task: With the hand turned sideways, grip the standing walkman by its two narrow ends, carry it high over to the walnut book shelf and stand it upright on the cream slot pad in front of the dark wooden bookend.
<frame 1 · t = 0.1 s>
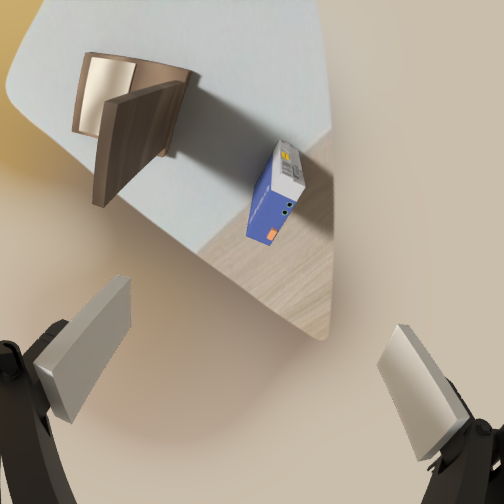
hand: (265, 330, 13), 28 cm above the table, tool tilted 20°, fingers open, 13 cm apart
walkman: (275, 167, 37), on the table
book shelf: (110, 96, 31), on the table
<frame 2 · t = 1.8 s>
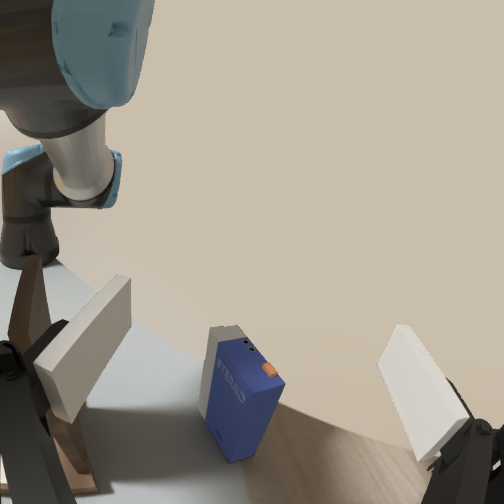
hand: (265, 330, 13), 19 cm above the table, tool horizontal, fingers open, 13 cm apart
walkman: (223, 433, 25), on the table
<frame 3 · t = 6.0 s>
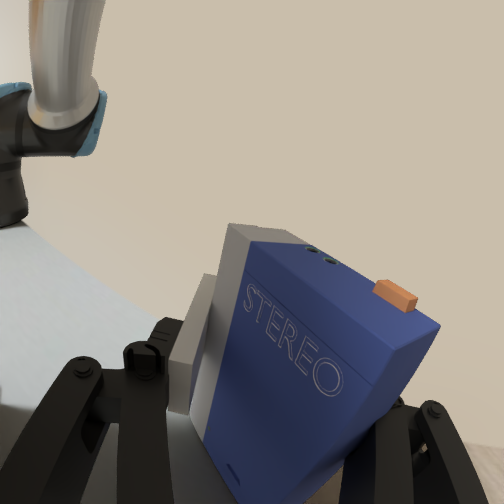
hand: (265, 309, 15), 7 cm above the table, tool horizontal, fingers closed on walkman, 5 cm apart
walkman: (238, 465, 12), on the table, touching gripper
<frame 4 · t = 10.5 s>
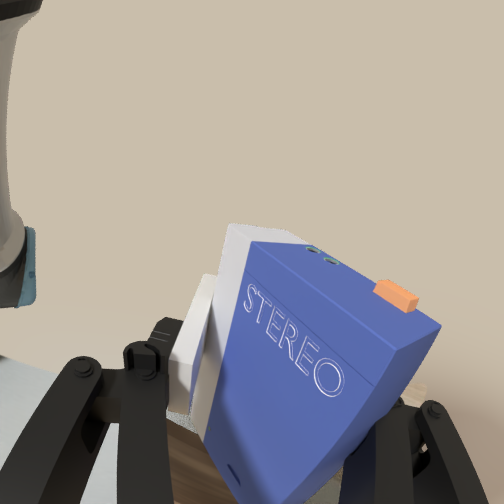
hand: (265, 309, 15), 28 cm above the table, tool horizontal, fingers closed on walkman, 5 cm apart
walkman: (239, 465, 12), point 21 cm above the table, touching gripper
when the fingers open (10 cm above the table, at t = 15.1 s): walkman drops 1 cm, resting on book shelf.
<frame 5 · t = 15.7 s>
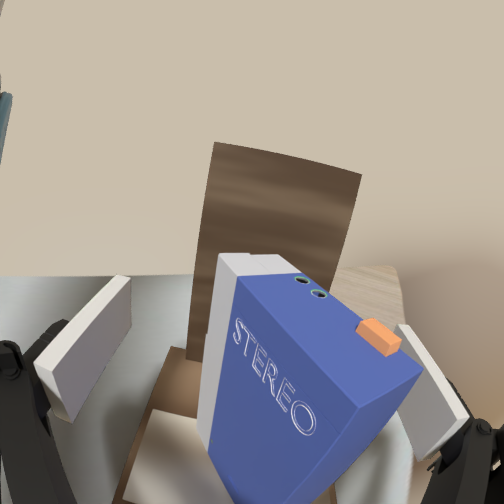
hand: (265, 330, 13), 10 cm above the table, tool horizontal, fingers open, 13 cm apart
walkman: (241, 474, 12), point 2 cm above the table, touching book shelf
book shelf: (230, 481, 13), on the table
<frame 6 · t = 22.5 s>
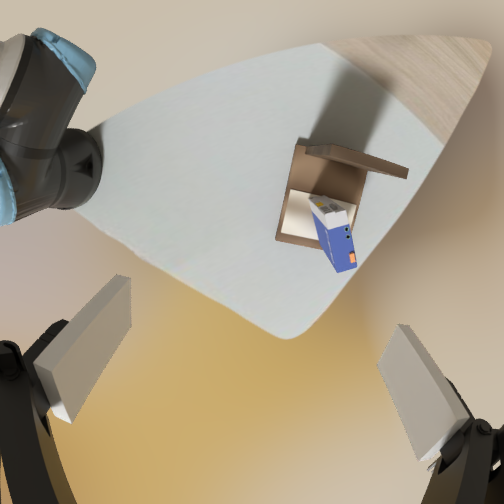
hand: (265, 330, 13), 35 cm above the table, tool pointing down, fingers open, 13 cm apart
walkman: (321, 219, 45), point 1 cm above the table, touching book shelf
book shelf: (317, 216, 46), on the table
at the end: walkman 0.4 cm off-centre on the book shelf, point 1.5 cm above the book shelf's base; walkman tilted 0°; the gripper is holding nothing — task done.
